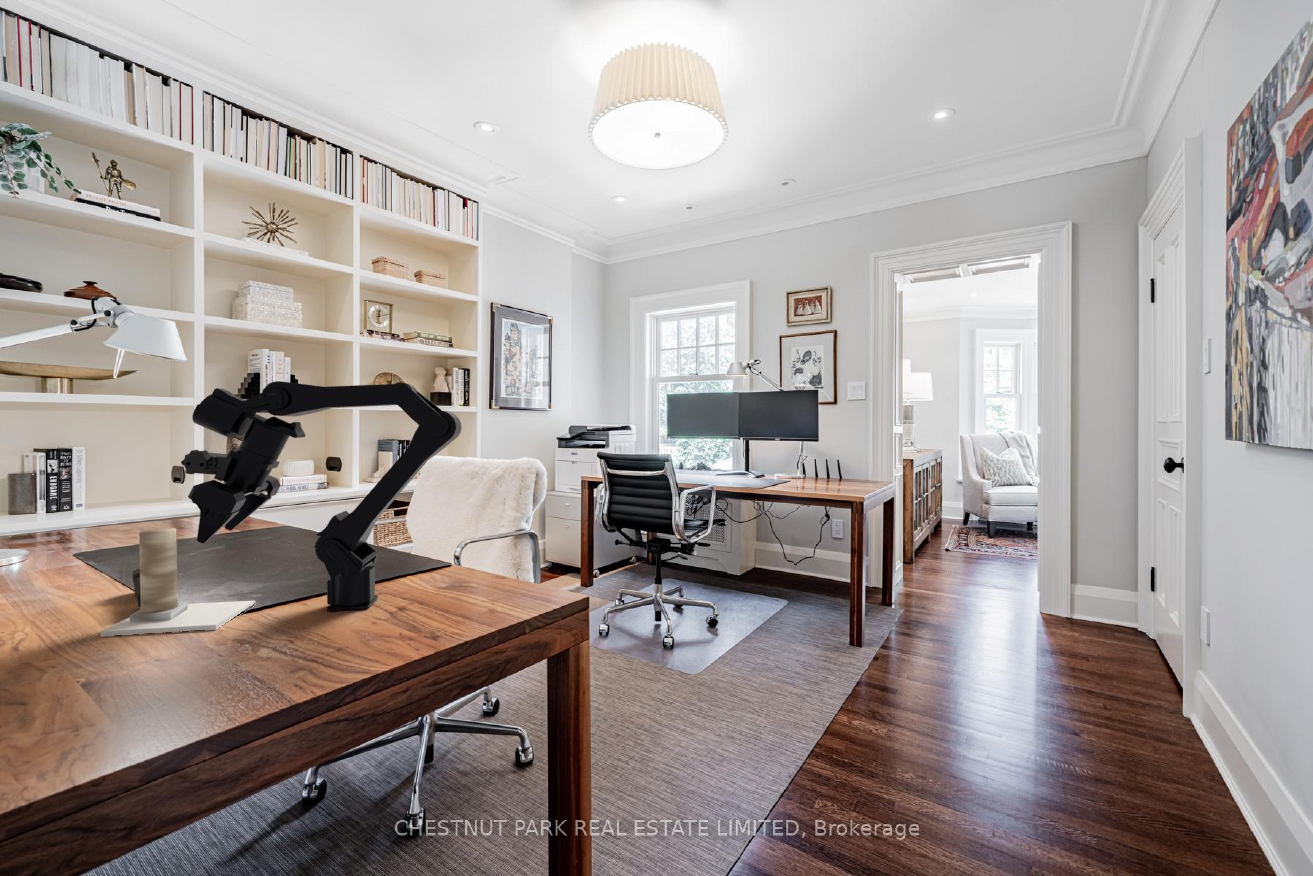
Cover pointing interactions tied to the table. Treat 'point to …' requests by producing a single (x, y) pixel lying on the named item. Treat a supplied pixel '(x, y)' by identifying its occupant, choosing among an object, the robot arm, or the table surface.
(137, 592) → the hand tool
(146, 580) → the beige pillar on pedestal
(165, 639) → the table surface
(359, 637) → the table surface
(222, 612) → the mat
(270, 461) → the robot arm
